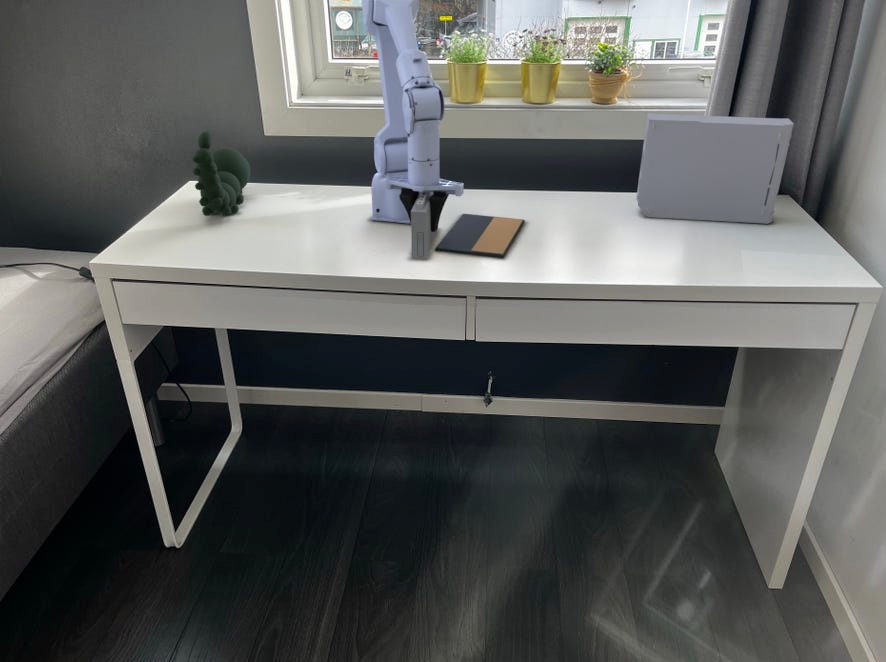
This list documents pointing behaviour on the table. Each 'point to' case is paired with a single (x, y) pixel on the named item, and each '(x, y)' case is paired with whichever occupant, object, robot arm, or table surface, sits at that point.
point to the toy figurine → (220, 177)
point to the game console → (712, 167)
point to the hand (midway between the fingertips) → (424, 229)
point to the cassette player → (421, 227)
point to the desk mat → (481, 236)
